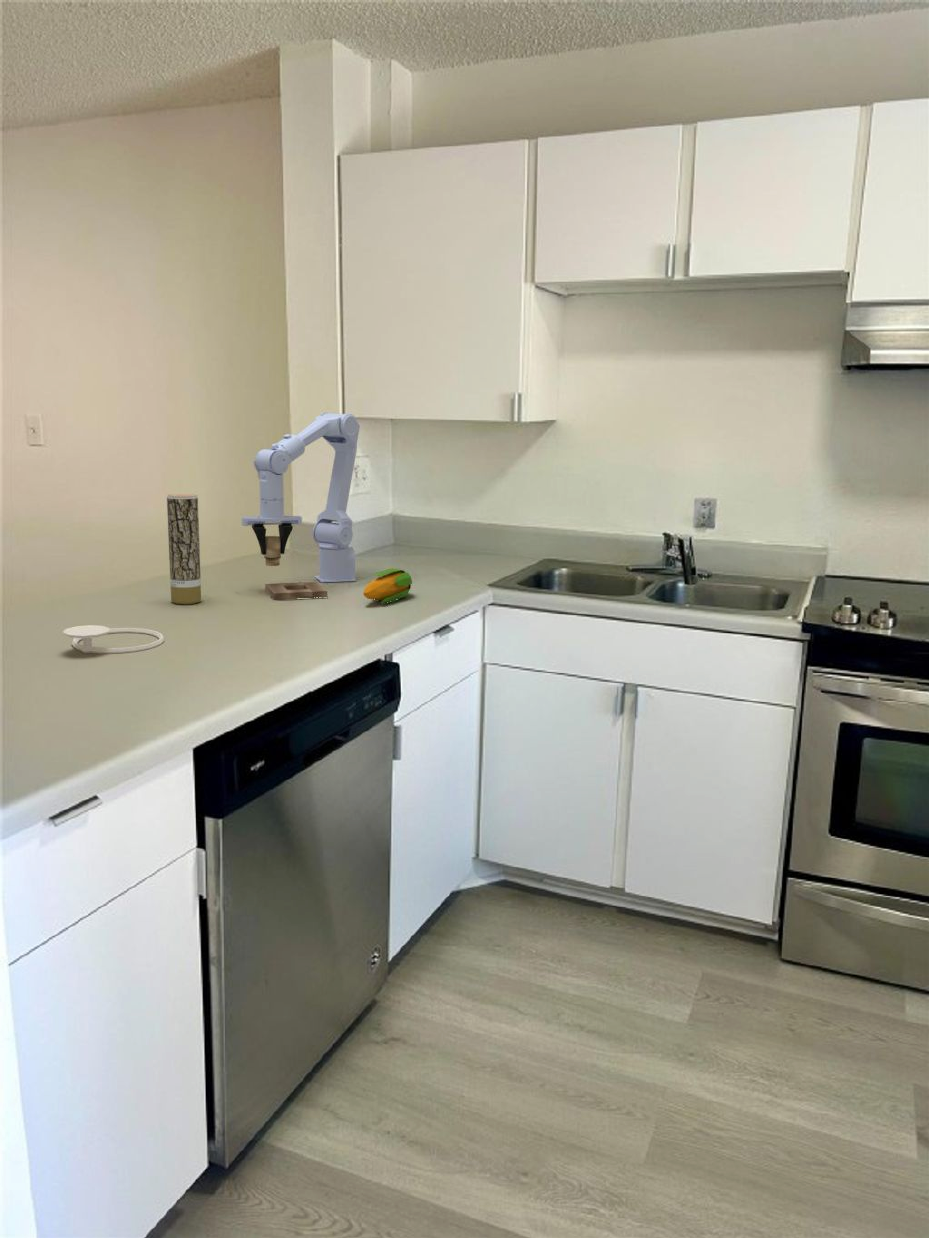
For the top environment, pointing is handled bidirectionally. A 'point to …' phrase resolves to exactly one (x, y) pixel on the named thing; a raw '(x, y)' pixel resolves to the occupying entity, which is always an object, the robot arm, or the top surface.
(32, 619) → the top surface
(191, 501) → the paper tube
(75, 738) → the top surface
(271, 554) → the peg
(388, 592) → the corn
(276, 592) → the board
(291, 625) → the top surface
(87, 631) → the hand towel holder
